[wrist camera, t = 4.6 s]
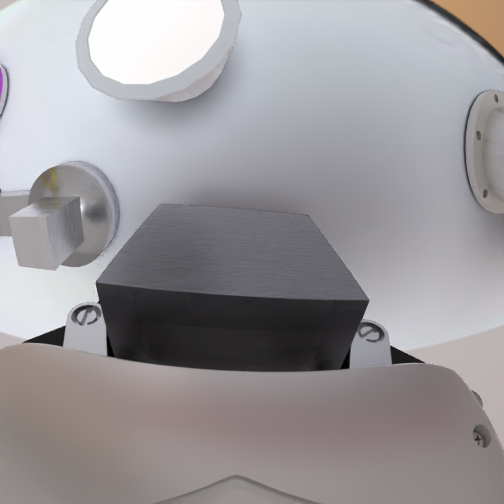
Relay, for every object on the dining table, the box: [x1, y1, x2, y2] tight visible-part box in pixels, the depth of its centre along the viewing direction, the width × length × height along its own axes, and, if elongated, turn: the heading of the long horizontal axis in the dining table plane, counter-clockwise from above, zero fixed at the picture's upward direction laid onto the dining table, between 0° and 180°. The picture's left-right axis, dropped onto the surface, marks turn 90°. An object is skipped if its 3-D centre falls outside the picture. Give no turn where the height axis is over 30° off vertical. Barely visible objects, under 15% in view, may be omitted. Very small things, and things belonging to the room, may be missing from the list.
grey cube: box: [96, 204, 369, 372], centre depth 9 cm, size 6×6×6 cm
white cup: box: [76, 0, 242, 102], centre depth 10 cm, size 7×7×7 cm
